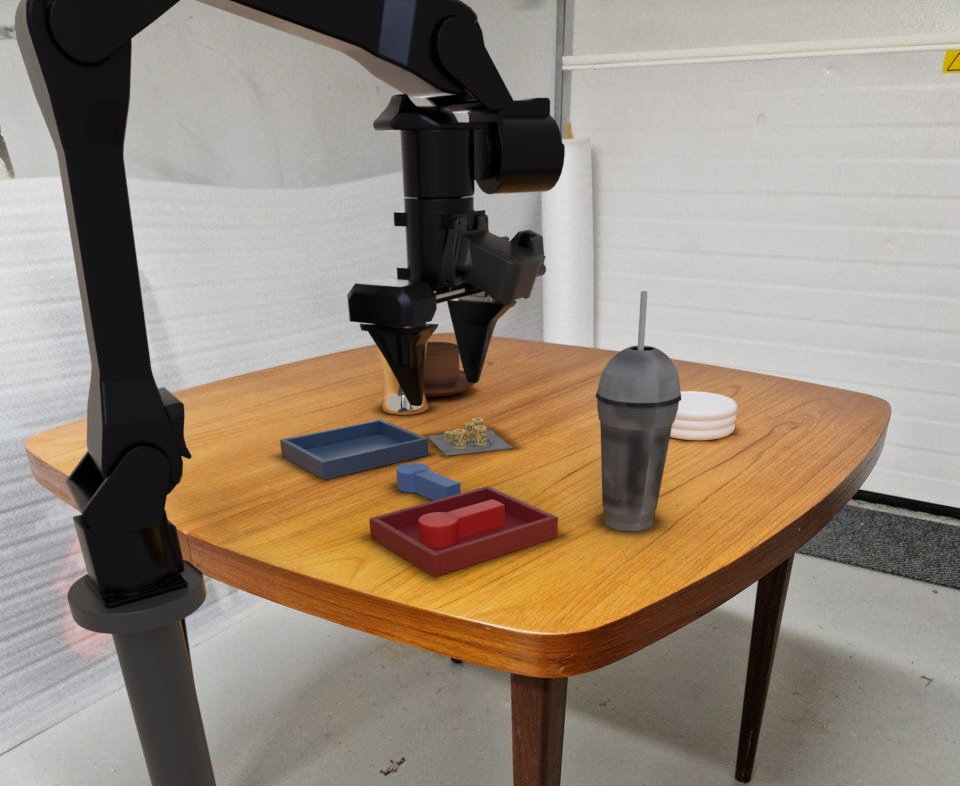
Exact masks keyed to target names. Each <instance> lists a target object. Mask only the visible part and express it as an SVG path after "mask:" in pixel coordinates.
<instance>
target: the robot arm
mask: <svg viewBox="0 0 960 786" xmlns="http://www.w3.org/2000/svg"><path fill="white" fill-rule="evenodd" d="M180 1H181V0H20V1H19V3H18V5H17V7H16V9H15V13H14V14H15V15H14V34H15V38H16V42H17V46H18V48H19V52H20V54H21V58H22V61H23V63H24V67H25V70H26V73H27V76H28V79H29V83H30V85H31V88H32V91H33V95H34V97H35V99H36V102H37V105H38V107H39V109H40V112H41V115H42V117H43V120H44V123H45V125H46V128H47V130H48V132H49V136H50V139H51V140H52V143H53V146H54V149H55V151H56V156H57V161H58V162H57V163H58V168H59V174H60V180H61V187H62V192H63V199H64V205H65V210H66V211H65V212H66V217H67V223H68V229H69V236H70V241H71V247H72V254H73V260H74V265H75V266H74V267H75V271H76V278H77V279H76V280H77V284H78V290H79V296H80V302H81V309H82V314H83V321H84V327H85V328H84V329H85V332H86V333H85V334H86V339H87V346H88V351H89V357H90V365H91V371H90V380H89V388H88V397H87V406H86V407H87V409H86V449H87V451H86V452H85V453H84V454H83V456H82V458H81V459H80V460H79V462H78V463H77V465H76V466H75V467H74V468H73V470H72V472H71V473H70V474H69V476H68V477H67V478H66V479H65V484H66V486H67V488H68V490H69V492H70V494H71V496H72V498H73V500H74V502H75V504H76V506H77V508H78V510H79V512H80V514H79V515H75V516H73V517H72V521H73V524H74V527H75V531H76V535H77V539H78V543H79V546H80V550H81V553H82V557H83V562H84V565H85V568H86V573H87V574H88V575H86V574H85V575H86V576H85V577H84V579H85V583H86V584H87V585H88V587H89V588H90V589H91V590H92V592H93V593H94V594H95V595H96V597H97V598H98V599H99V600H100V602H101V603H102V604H103V605H104V607H105V608H107V609H112V608H116V607H119V606H123V605H126V604H130V603H133V602H137V601H140V600H144V599H148V598H151V597H155V596H158V595H162V594H165V593H169V592H172V591H176V590H179V589H183V588H186V587H187V586H188V583H187V580H186V579H185V578H184V577H183V576H182V575H181V574H180V573H182V572H184V570H185V567H184V562H183V560H184V558H183V553H182V547H181V543H180V539H179V534H178V528H177V525H175V524H174V523H173V522H172V521H170V520H169V518H168V514H167V510H166V502H167V498H168V495H170V494H171V493H172V491H173V490H175V488H176V487H177V485H179V484H180V483H181V481H182V478H183V474H184V473H183V472H184V471H183V470H184V460H183V458H185V459H187V460H190V459H192V457H193V455H192V454H191V452H190V450H189V448H188V447H187V443H186V440H185V417H186V416H185V415H186V414H185V403H183V402H182V401H181V400H180V399H179V398H177V396H175V395H174V394H173V393H172V392H171V391H170V390H169V389H168V388H166V387H165V386H162V387H158V385H157V382H156V379H155V377H154V374H153V370H152V363H151V355H150V354H151V353H150V348H149V347H150V346H149V340H148V333H147V332H148V331H147V325H146V324H147V323H146V316H145V309H144V302H143V294H142V285H141V279H140V272H139V263H138V257H137V256H138V255H137V250H136V249H137V248H136V241H135V234H134V233H135V232H134V227H133V226H134V225H133V218H132V212H131V202H130V195H129V188H128V187H129V186H128V181H127V172H126V165H125V155H124V154H125V153H124V152H125V150H124V149H125V139H126V135H127V134H126V133H127V124H128V118H129V110H130V103H131V85H132V84H131V83H132V82H131V81H132V55H133V54H132V51H133V41H132V39H133V38H134V37H136V36H137V35H138V34H140V33H141V32H143V30H146V28H147V27H149V26H151V24H153V23H154V22H156V21H157V20H158V19H159V18H160V17H162V16H163V15H164V14H165V13H167V12H168V11H169V10H170V9H172V8H174V6H176V5H177V4H178V3H179V2H180ZM195 1H196V2H197V3H198V2H199V3H202V4H205V5H207V6H210V7H213V8H216V9H219V10H221V11H224V12H226V13H229V14H232V15H236V16H239V17H241V18H243V19H247V20H249V21H252V22H255V23H258V24H261V25H264V26H266V27H269V28H273V29H275V30H278V31H281V32H283V33H286V34H289V35H292V36H295V37H297V38H301V39H303V40H306V41H309V42H312V43H314V44H317V45H320V46H323V47H326V48H329V49H331V50H334V51H337V52H340V53H342V54H344V55H346V56H348V57H349V58H351V59H352V60H353V61H355V62H357V63H358V64H359V65H360V66H361V67H363V68H364V69H365V71H368V73H369V74H371V75H372V76H373V77H375V78H376V79H378V80H380V81H382V82H383V83H385V84H386V85H389V86H390V87H392V88H393V89H395V90H397V91H399V92H400V93H399V94H393V95H391V96H390V99H389V102H388V104H387V106H386V107H385V108H384V110H383V111H382V112H380V114H379V115H378V116H377V117H376V118H375V119H374V120H373V123H372V127H373V129H374V130H375V131H376V132H399V133H400V153H401V168H402V169H401V171H402V173H401V174H402V191H403V192H402V193H403V208H404V209H403V210H402V211H395V212H394V211H393V223H394V224H393V225H394V227H404V231H405V250H406V265H403V266H399V267H396V278H385V277H384V278H382V277H380V278H376V279H371V280H366V281H365V280H364V281H360V282H356V283H354V284H353V286H352V287H351V289H350V290H349V292H348V293H347V294H346V299H347V311H348V321H349V322H352V323H359V328H360V330H361V331H363V332H367V333H368V334H369V336H370V337H371V339H372V340H373V342H374V344H375V346H376V345H377V347H378V348H379V350H380V351H381V353H382V354H383V356H384V358H385V359H386V361H387V363H388V365H389V367H390V368H391V370H392V372H393V374H394V376H395V378H396V379H397V381H398V383H399V385H400V387H401V389H402V391H403V393H404V394H405V396H406V398H407V400H408V402H409V404H410V405H412V406H421V405H422V403H423V394H424V373H425V345H426V342H427V340H428V341H429V339H430V338H431V337H432V335H433V334H434V333H435V331H436V330H437V329H438V328H439V323H430V322H432V321H433V319H434V317H435V314H436V311H437V309H438V304H442V303H447V307H448V312H449V317H450V319H451V324H452V328H453V332H454V336H455V341H456V344H457V346H458V350H459V359H460V362H461V366H462V371H464V373H465V376H466V379H467V382H469V383H475V384H477V383H479V382H480V379H481V375H482V372H483V370H484V369H483V368H484V364H485V361H486V358H487V354H488V351H489V347H490V343H491V340H492V337H493V333H494V331H495V328H496V325H497V323H498V321H499V319H501V318H502V317H503V316H504V315H505V314H506V313H507V312H508V311H509V310H510V309H512V308H514V307H515V306H516V304H517V303H518V300H520V299H524V300H527V299H530V297H531V295H532V291H533V289H534V288H533V287H534V286H535V282H536V279H537V278H538V277H542V276H544V275H545V274H546V273H547V267H546V265H545V260H546V255H545V249H544V237H543V235H542V234H539V233H537V232H535V231H533V230H531V229H525V230H519V231H518V232H517V233H516V234H515V235H514V236H513V237H512V238H510V237H508V236H507V235H504V236H498V235H497V234H495V233H492V232H490V229H489V216H488V215H487V214H486V209H476V197H475V195H476V193H475V192H476V191H475V189H476V187H475V186H476V185H475V183H476V184H477V186H478V188H479V189H480V190H481V192H483V193H485V194H486V195H503V194H504V195H505V194H507V195H508V194H526V193H527V194H528V193H546V192H549V191H551V190H552V189H553V188H555V187H556V185H557V184H558V182H559V180H560V178H561V175H562V173H563V168H564V165H565V158H566V157H565V155H566V154H565V153H566V146H565V143H563V138H562V133H561V129H560V127H559V125H558V123H557V121H556V119H555V118H554V117H553V116H552V115H551V99H550V98H549V97H531V98H523V99H517V100H516V99H514V98H513V97H512V95H511V93H510V91H509V89H508V88H507V85H506V83H505V82H504V79H503V78H502V76H501V74H500V72H499V70H498V68H497V67H496V64H495V63H494V61H493V59H492V57H491V55H490V53H489V52H488V49H487V47H486V46H485V40H484V34H483V30H482V28H481V25H480V23H479V20H478V19H479V18H478V17H479V16H478V15H477V13H476V12H475V10H473V8H472V7H471V6H469V5H468V4H466V3H465V2H463V1H462V0H195ZM411 98H414V99H415V98H417V99H425V100H426V101H428V102H429V103H430V105H417V104H415V103H414V102H413V101H412V99H411ZM466 113H467V115H468V121H459V120H458V118H457V116H456V115H455V114H466ZM426 322H428V323H426ZM377 347H376V348H377Z"/></svg>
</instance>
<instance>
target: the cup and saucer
mask: <svg viewBox="0 0 960 786" xmlns="http://www.w3.org/2000/svg"><path fill="white" fill-rule="evenodd" d="M475 384H476V383H469V382H467V379H466V376H465V373H464V370H463V369H462V370H461V369H460V354H459V350H458V346H457V343H453V342H447V341H428V346H427V355H426V362H425V373H424V385H425V392H426V397H427V398H438V397H439V398H440V397H448V396H454V395H457V394H461V393H464V392H466V391H468V390H470V389H471V388H473V386H474V385H475Z"/></svg>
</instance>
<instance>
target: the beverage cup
mask: <svg viewBox="0 0 960 786" xmlns="http://www.w3.org/2000/svg"><path fill="white" fill-rule="evenodd" d="M639 302H640V303H639V318H638V319H639V320H638V321H639V322H638V335H637V345H632V346H628V347H626V348H624V349H622V350H620V351H619V352H617V353H615V355H614V356H612V357H611V358H610V359H609V361H608V362H607V363H606V364H605V366H604V368H603V370H602V372H601V374H600V378H599V382H598V386H597V390H596V393H595V398H596V399H597V401H596V409H597V416H598V420H599V421H600V422H599V423H600V424H599V425H600V427H599V428H600V455H601V456H600V462H601V463H600V464H601V465H600V466H601V500H602V501H601V502H602V510H603V512H602V513H603V524H604V525H605V526H607V527H608V528H611V529H613V530H616V531H622V532H641V531H644V530H648V529H650V528H651V527H653V525H654V519H655V515H656V510H657V508H658V504H659V497H660V493H661V486H662V483H663V477H664V470H665V465H666V461H667V460H666V459H667V455H668V450H669V444H670V438H671V437H670V434H671V428H672V423H674V421H675V417H676V414H677V411H678V405H679V401H680V400H681V392H680V391H681V383H680V382H681V381H680V375H679V372H678V370H677V367H676V365H675V364H674V362H673V360H672V359H671V358H670V357H669V356H668V355H667V354H666V353H665V352H663V350H661V349H658V348H657V347H654V346H651V345H645V338H646V322H647V320H646V319H647V305H648V291H647V290H642V291H640V301H639Z"/></svg>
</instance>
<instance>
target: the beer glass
mask: <svg viewBox="0 0 960 786" xmlns="http://www.w3.org/2000/svg"><path fill="white" fill-rule="evenodd" d="M426 323H429V322H426ZM428 342H429V339H428V340H427V342H426V345H425V362H426V355H427V346H428ZM375 347H376V351H377V356H378V360H379V363H380V368H381V372H382V379H383V395H382V396H383V397H382V407H381V408H382V411H383V412H384V413H386V414H389V415H396V416H411V415H417V414H422V413H424V412H426V411H428V409H429V402H428V397H426V392H425V385H424V394H423V403H422V405H421V406H412V405H410V404H409V402H408V400H407V398H406V396H405V394H404V393H403V391H402V389H401V387H400V385H399V383H398V381H397V379H396V378H395V376H394V374H393V372H392V370H391V368H390V367H389V365H388V363H387V361H386V359H385V358H384V356H383V354H382V353H381V351H380V350H379V348H378V347H377V345H376V344H375Z"/></svg>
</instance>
